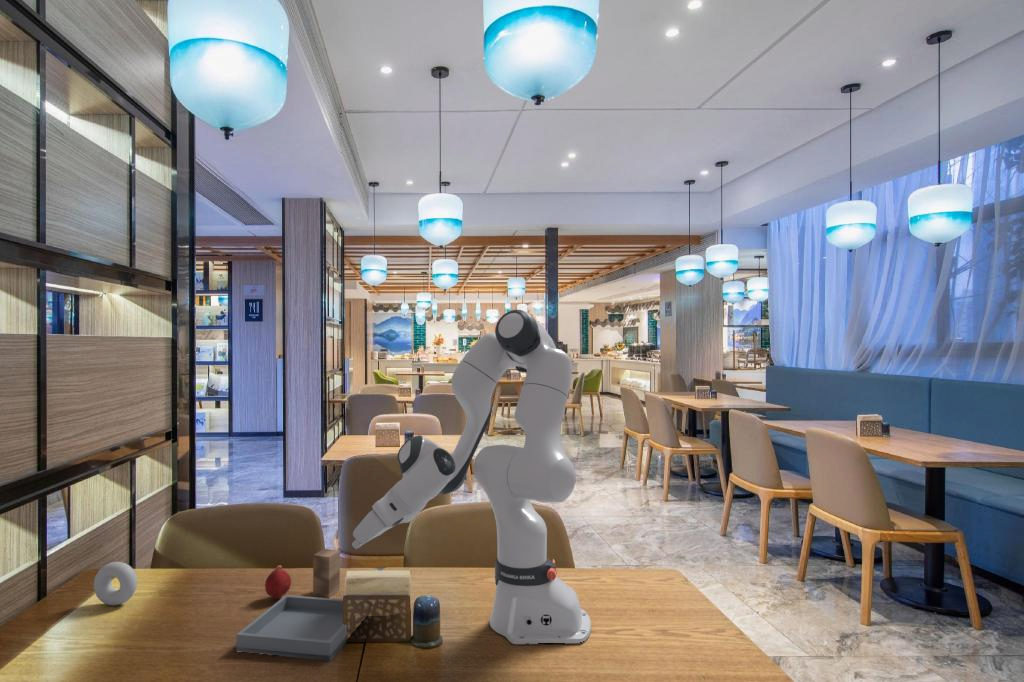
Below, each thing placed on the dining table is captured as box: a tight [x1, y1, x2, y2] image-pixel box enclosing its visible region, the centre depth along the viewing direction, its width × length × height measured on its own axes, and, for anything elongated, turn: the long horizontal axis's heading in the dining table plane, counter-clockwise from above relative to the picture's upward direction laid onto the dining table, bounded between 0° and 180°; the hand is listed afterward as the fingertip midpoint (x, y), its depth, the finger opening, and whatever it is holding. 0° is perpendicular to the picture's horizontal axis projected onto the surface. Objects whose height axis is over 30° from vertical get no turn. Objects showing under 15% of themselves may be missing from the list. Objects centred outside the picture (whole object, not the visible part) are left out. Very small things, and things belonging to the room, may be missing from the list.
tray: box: [235, 594, 347, 662], centre depth 118 cm, size 20×18×4 cm
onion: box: [264, 564, 292, 600], centre depth 134 cm, size 6×6×8 cm
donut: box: [93, 561, 138, 607], centre depth 130 cm, size 10×4×10 cm, turn 85°
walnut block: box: [312, 548, 341, 599], centre depth 138 cm, size 4×4×10 cm
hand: (366, 539), depth 135 cm, fingers open, 8 cm apart
